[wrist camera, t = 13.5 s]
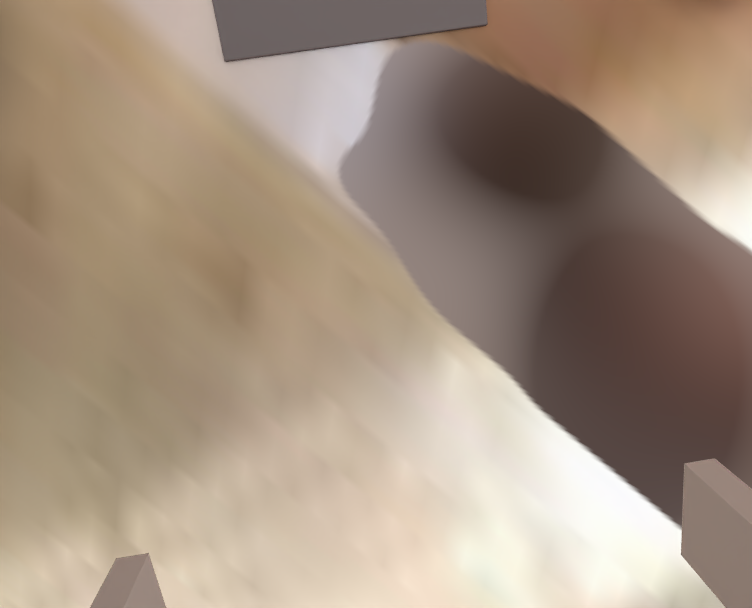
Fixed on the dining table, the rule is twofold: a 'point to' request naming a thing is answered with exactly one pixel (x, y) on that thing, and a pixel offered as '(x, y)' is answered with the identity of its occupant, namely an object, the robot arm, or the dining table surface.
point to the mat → (333, 23)
